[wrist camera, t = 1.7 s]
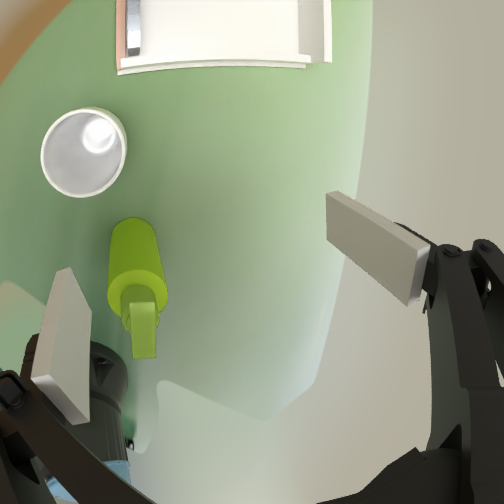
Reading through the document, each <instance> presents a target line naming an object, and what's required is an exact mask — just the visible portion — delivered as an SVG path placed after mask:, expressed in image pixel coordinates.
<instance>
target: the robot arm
mask: <svg viewBox="0 0 504 504" xmlns="http://www.w3.org/2000/svg"><path fill="white" fill-rule="evenodd" d="M326 223H327V240H328V241H329V242H330V243H331V244H333V245H334V246H335V247H336V248H338V249H339V250H340V251H341V252H343V253H344V254H345V255H346V256H348V257H349V258H350V259H351V260H352V261H354V262H355V263H356V264H357V265H358V266H360V267H361V268H362V269H363V270H364V271H366V272H367V273H368V274H369V275H370V276H372V277H373V278H374V279H375V280H377V281H378V282H379V283H380V284H381V285H382V286H383V287H385V288H386V289H387V290H388V291H389V292H391V293H392V294H393V295H394V296H395V297H397V299H399V300H400V301H401V302H402V303H403V304H404V305H405V306H407V307H408V306H409V305H411V304H413V303H415V302H417V301H419V299H420V294H421V290H422V289H423V290H424V291H426V292H427V296H426V300H425V304H424V308H423V313H424V314H425V310H426V309H427V316H428V326H429V338H430V354H431V376H432V418H431V434H430V437H429V441H428V443H427V447H426V451H422V452H419V451H418V449H417V448H416V447H415V448H413V449H412V450H411V451H409V452H408V453H406V454H405V455H403V456H402V457H400V458H399V459H397V460H396V461H394V462H392V463H391V464H389V465H388V466H387V467H386V468H384V469H383V471H381V473H379V475H378V476H376V478H374V479H373V480H372V481H371V482H370V483H369V484H368V485H367V486H366V487H365V488H364V489H363V490H361V491H360V492H358V493H356V494H352V495H349V496H345V497H341V498H337V499H333V500H329V501H325V502H321V503H317V504H504V387H501V386H500V383H499V377H498V372H497V366H496V362H497V364H498V367H499V369H500V371H501V374H502V376H503V378H504V254H503V253H502V251H501V250H500V249H499V248H498V247H497V246H496V245H495V244H494V243H492V242H490V241H489V240H486V239H477V240H475V241H474V243H473V247H472V250H470V251H462V250H461V249H460V248H459V247H456V246H454V245H450V244H442V245H440V246H437V245H436V244H434V243H432V242H431V241H429V240H428V239H426V238H424V237H423V236H421V235H418V233H416V232H415V231H412V230H411V229H409V228H408V227H406V226H405V225H402V224H399V223H396V222H392V221H390V220H389V219H387V218H385V217H384V216H382V215H380V214H379V213H377V212H375V211H373V210H371V209H370V208H368V207H366V206H364V205H363V204H361V203H359V202H357V201H356V200H354V199H352V198H350V197H348V196H346V195H345V194H343V193H341V192H339V191H335V192H331V193H327V194H326ZM489 281H490V283H491V290H489V289H488V283H489ZM91 319H92V311H91V309H90V307H89V305H88V303H87V301H86V299H85V297H84V295H83V293H82V291H81V289H80V287H79V285H78V283H77V281H76V279H75V276H74V274H73V272H72V270H71V267H68V268H65V269H62V270H59V271H57V272H56V275H55V278H54V281H53V285H52V288H51V292H50V295H49V299H48V302H47V306H46V310H45V313H44V318H43V321H42V325H41V329H40V333H39V334H35V335H32V337H31V339H30V340H29V342H28V344H27V346H26V350H25V356H24V359H23V364H22V368H21V373H20V377H19V376H18V374H17V373H16V372H14V371H12V370H7V371H2V369H1V368H0V504H56V501H55V500H54V498H53V496H55V497H57V498H59V499H62V500H66V501H71V502H78V503H79V504H156V503H155V502H153V501H152V500H151V499H149V498H148V497H146V496H145V495H144V494H142V493H141V492H139V491H138V490H137V489H136V488H134V487H133V486H132V485H130V484H131V481H130V472H129V467H130V464H129V462H128V457H127V452H126V445H125V439H124V433H123V426H122V419H121V407H122V403H123V400H124V397H125V393H126V390H127V386H128V377H127V369H126V366H125V364H124V362H123V360H122V359H121V358H120V356H119V355H118V354H116V353H115V352H114V351H113V350H111V349H110V348H108V347H106V346H104V345H102V344H99V343H97V342H93V341H90V334H91ZM495 360H496V361H495ZM45 480H46V482H45ZM52 495H53V496H52Z"/></svg>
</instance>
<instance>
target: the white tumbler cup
mask: <svg viewBox="0 0 504 504" xmlns="http://www.w3.org/2000/svg"><path fill="white" fill-rule="evenodd" d="M127 147H128V143H127V135H126V131H125V128H124V126H123V124H122V122H121V121H120V120H119V119H118V117H117V116H116V115H114V114H113V113H112V112H110V111H108V110H106V109H103V108H100V107H83V108H79V109H76V110H73V111H71V112H69V113H66V114H65V115H63V116H61V117H60V118H59V119H58V120H56V121H55V122H54V123H53V124H52V126H51V127H50V128H49V130H48V131H47V133H46V135H45V137H44V140H43V143H42V147H41V165H42V169H43V172H44V174H45V176H46V178H47V180H48V181H49V183H50V184H51V185H52V186H53V187H54V188H55V189H56V190H58V191H59V192H61V193H63V194H65V195H67V196H70V197H75V198H86V197H91V196H94V195H97V194H99V193H101V192H103V191H104V190H106V189H107V188H108V187H110V186H111V185H112V184H113V183H114V181H115V180H116V179H117V177H118V176H119V174H120V172H121V170H122V168H123V165H124V162H125V159H126V155H127Z"/></svg>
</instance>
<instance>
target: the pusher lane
mask: <svg viewBox="0 0 504 504" xmlns="http://www.w3.org/2000/svg"><path fill="white" fill-rule="evenodd" d="M127 25H128V0H117V5H116V60H117V72H118V76H119V75H125V74H132V73H140V72H148V71H157V70H167V69H178V68H193V67H215V66H265V67H287V68H302V69H304V68H306V65H308V64H320V63H332V28H331V0H141V3H140V53H139V55H136V56H129V57H128V35H127Z"/></svg>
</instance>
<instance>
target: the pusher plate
mask: <svg viewBox="0 0 504 504" xmlns="http://www.w3.org/2000/svg"><path fill="white" fill-rule="evenodd" d="M140 3H141V0H128V25H127V35H128V57H129V56H136V55H139V53H140Z"/></svg>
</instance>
